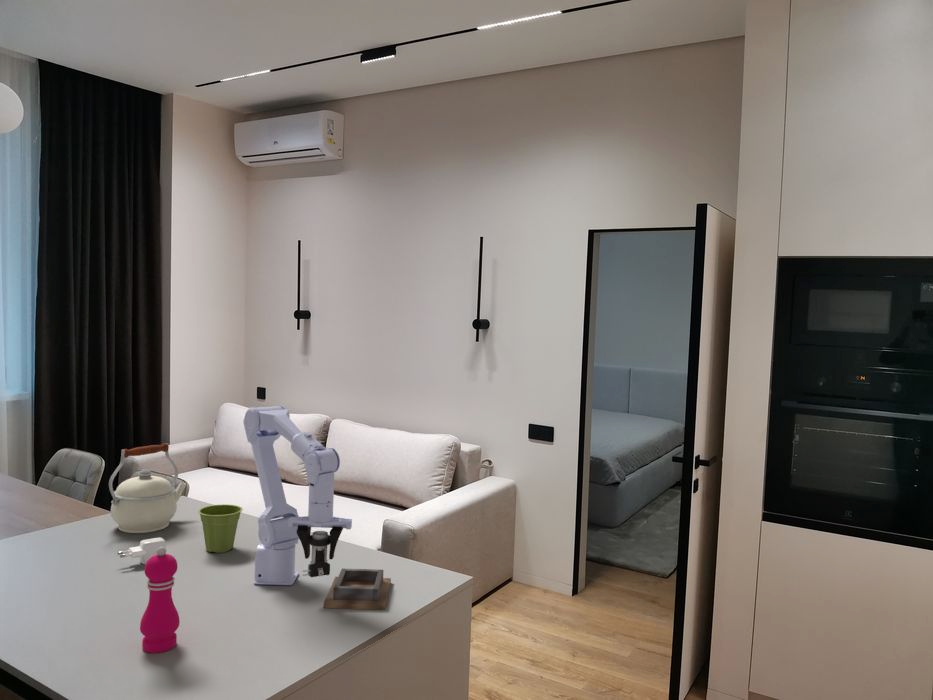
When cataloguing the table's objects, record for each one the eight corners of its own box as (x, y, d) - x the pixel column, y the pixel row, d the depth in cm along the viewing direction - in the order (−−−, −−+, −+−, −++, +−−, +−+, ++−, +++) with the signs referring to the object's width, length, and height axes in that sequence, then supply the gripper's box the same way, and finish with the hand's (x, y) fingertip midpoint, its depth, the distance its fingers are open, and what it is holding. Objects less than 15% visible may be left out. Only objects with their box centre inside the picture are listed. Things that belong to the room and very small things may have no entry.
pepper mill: (147, 637, 141) (149, 540, 140) (184, 637, 141) (186, 541, 140) (133, 654, 133) (135, 553, 132) (172, 654, 134) (174, 553, 133)
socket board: (323, 607, 158) (324, 590, 158) (335, 581, 174) (335, 565, 174) (384, 609, 158) (385, 592, 158) (390, 582, 174) (391, 567, 174)
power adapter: (120, 570, 175) (121, 548, 175) (116, 565, 179) (116, 542, 179) (166, 562, 182) (167, 540, 182) (161, 557, 186) (161, 535, 186)
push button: (306, 581, 158) (308, 538, 158) (298, 574, 163) (299, 532, 162) (333, 576, 162) (335, 534, 162) (324, 569, 166) (326, 528, 166)
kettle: (126, 541, 197) (128, 455, 196) (92, 528, 207) (93, 446, 206) (202, 522, 218) (204, 444, 217) (167, 511, 228) (169, 436, 227)
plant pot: (250, 547, 196) (251, 508, 195) (215, 559, 186) (216, 518, 185) (223, 539, 202) (224, 501, 202) (188, 550, 192) (188, 510, 192)
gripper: (285, 504, 158) (284, 562, 158) (349, 506, 158) (347, 564, 158) (293, 496, 165) (291, 552, 165) (353, 498, 165) (352, 554, 166)
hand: (319, 557), depth 162 cm, fingers closed on push button, 5 cm apart
